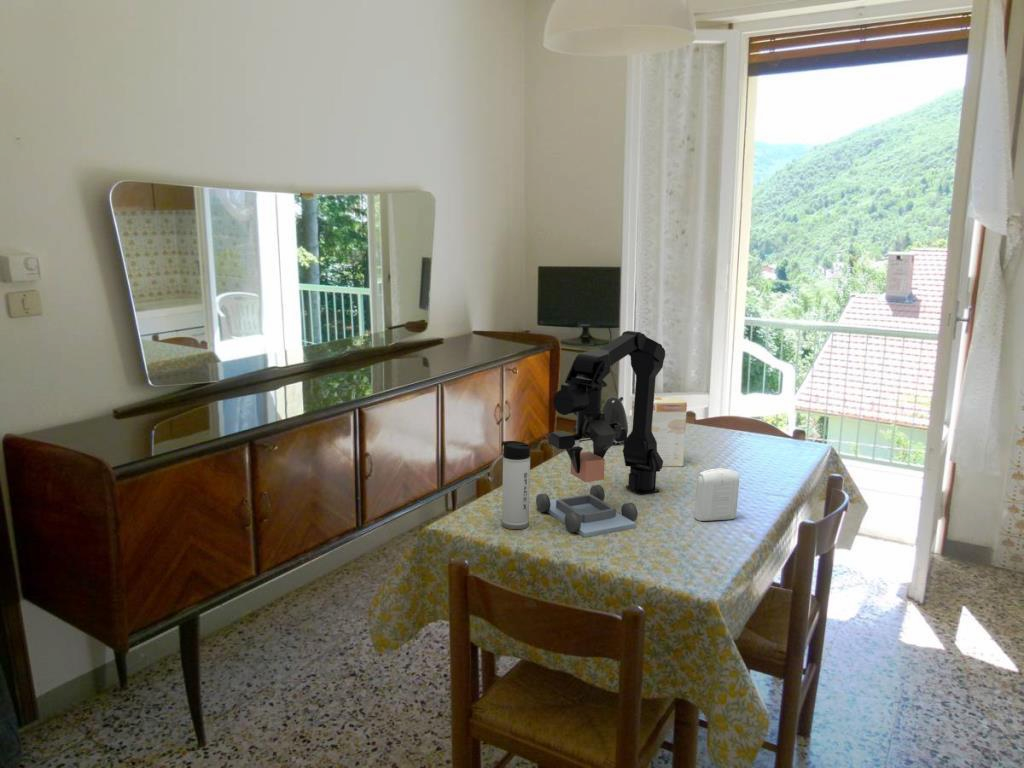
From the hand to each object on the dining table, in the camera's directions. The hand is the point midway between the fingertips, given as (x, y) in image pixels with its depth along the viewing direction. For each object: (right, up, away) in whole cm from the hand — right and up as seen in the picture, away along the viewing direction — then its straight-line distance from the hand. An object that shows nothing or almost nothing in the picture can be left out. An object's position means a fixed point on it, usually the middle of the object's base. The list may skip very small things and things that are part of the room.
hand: (587, 471), depth 181 cm
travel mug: (-17, -12, -4) cm, 21 cm away
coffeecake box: (+25, -3, +45) cm, 52 cm away
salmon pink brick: (0, -1, 0) cm, 1 cm away
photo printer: (+31, -12, +2) cm, 33 cm away
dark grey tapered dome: (+15, +2, +67) cm, 69 cm away
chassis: (0, -11, +2) cm, 11 cm away
